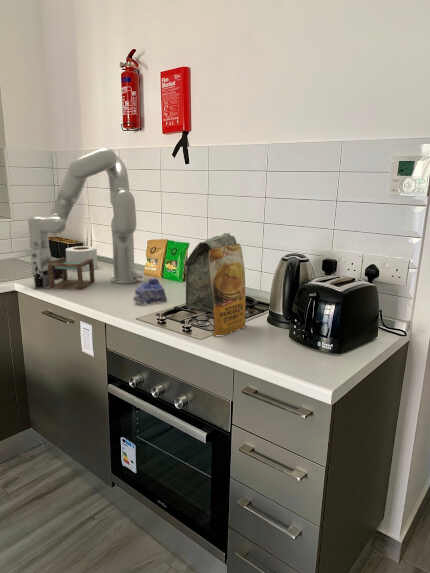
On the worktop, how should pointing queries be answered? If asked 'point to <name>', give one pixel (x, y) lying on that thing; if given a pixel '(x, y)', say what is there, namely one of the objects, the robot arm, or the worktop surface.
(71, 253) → the toilet paper roll
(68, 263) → the trapdoor
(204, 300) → the bag
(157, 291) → the mineral
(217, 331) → the pancake mix bag
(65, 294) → the worktop surface
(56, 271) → the rock
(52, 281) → the frame
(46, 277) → the gray cube
